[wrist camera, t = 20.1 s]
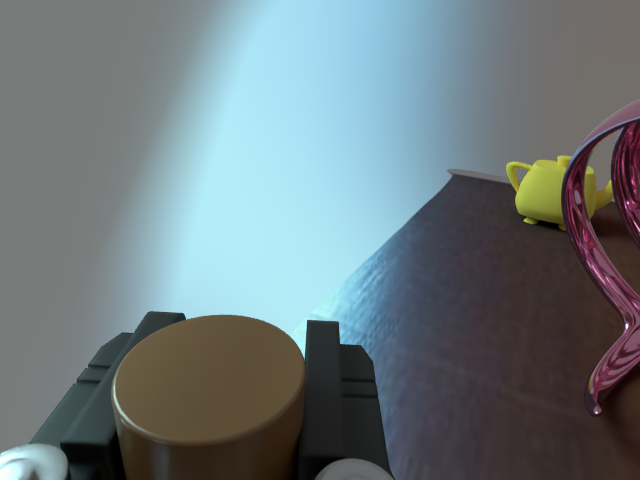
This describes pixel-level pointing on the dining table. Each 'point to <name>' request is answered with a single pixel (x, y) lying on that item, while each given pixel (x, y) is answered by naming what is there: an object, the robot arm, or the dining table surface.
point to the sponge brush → (211, 402)
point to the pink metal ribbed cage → (636, 213)
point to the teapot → (551, 190)
